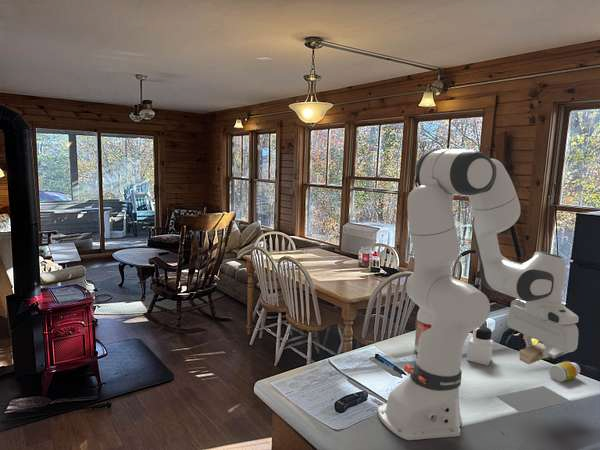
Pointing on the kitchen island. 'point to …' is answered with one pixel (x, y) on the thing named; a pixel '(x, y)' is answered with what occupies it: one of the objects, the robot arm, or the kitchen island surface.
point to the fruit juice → (422, 324)
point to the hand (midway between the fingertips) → (536, 353)
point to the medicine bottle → (480, 346)
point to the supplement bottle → (564, 371)
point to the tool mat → (532, 399)
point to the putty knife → (537, 353)
